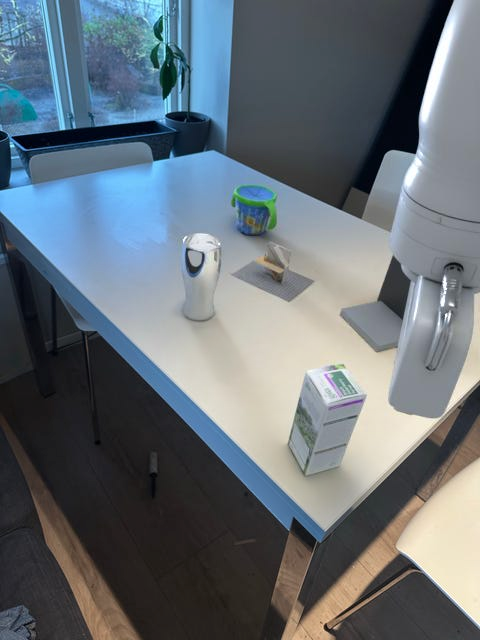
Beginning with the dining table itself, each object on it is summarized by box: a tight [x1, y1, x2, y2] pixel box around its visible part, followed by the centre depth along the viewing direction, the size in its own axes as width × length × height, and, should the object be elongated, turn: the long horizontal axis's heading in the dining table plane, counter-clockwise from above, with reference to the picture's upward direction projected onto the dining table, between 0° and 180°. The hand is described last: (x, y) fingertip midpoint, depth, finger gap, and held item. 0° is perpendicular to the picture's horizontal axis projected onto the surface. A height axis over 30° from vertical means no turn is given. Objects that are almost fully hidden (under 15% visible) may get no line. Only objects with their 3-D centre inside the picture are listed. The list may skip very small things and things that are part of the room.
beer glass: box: [181, 232, 223, 322], centre depth 81 cm, size 7×7×15 cm
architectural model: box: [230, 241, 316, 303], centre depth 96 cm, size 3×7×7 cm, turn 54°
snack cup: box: [230, 184, 278, 236], centre depth 114 cm, size 16×10×10 cm
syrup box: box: [287, 363, 367, 477], centre depth 58 cm, size 6×6×14 cm
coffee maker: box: [339, 254, 411, 353], centre depth 81 cm, size 15×14×27 cm
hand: (410, 368), depth 40 cm, fingers open, 8 cm apart
